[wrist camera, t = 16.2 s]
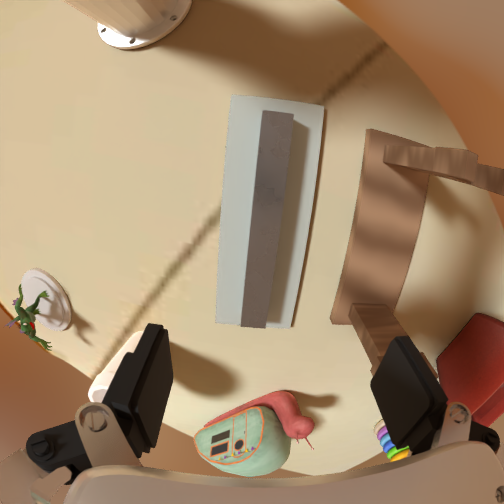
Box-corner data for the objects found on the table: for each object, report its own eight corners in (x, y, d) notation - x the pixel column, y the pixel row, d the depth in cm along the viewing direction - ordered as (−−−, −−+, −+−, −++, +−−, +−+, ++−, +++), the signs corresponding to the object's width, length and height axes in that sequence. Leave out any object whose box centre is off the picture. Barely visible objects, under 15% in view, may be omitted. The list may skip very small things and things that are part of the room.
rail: (261, 113, 26) (262, 109, 23) (289, 117, 26) (294, 113, 23) (241, 312, 35) (240, 326, 32) (264, 314, 35) (265, 328, 32)
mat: (231, 96, 26) (231, 94, 25) (322, 107, 26) (324, 106, 25) (216, 319, 36) (215, 322, 35) (289, 325, 36) (290, 328, 36)
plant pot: (414, 367, 41) (450, 433, 25) (480, 290, 35) (536, 341, 19) (450, 385, 44) (479, 435, 29) (503, 324, 39) (542, 367, 23)
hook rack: (366, 129, 27) (456, 122, 12) (426, 147, 27) (520, 161, 12) (329, 318, 36) (364, 408, 21) (384, 318, 36) (432, 396, 21)
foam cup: (133, 311, 36) (95, 373, 24) (187, 343, 38) (167, 413, 26) (115, 347, 39) (84, 404, 27) (163, 375, 41) (143, 437, 28)
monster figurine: (81, 328, 38) (52, 367, 28) (40, 327, 38) (13, 359, 29) (54, 264, 33) (14, 295, 24) (15, 271, 34) (-20, 297, 24)
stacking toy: (366, 432, 49) (385, 495, 31) (383, 413, 46) (407, 481, 28) (392, 429, 49) (413, 487, 32) (409, 410, 46) (435, 471, 29)
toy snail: (219, 437, 48) (214, 490, 35) (191, 422, 46) (181, 479, 33) (317, 391, 42) (331, 456, 29) (291, 371, 40) (301, 444, 27)
